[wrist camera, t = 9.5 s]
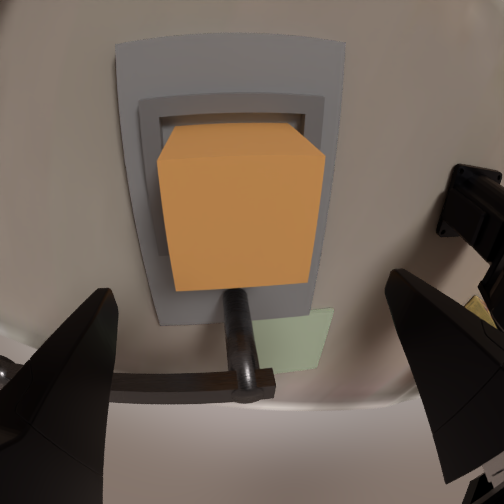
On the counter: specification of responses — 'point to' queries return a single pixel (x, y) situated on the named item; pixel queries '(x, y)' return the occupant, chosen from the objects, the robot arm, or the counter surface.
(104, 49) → the counter surface
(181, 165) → the orange cube
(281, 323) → the pad
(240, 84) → the socket plate
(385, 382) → the counter surface
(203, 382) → the black knob lever
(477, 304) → the candy box
